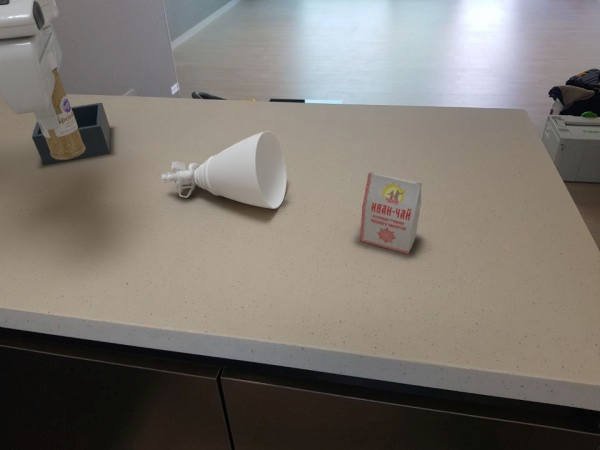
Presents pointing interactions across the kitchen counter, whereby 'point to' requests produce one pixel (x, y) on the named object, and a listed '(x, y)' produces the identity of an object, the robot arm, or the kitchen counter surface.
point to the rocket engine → (239, 172)
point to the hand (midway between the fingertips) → (55, 118)
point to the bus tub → (81, 133)
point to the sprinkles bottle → (62, 122)
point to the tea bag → (390, 212)
